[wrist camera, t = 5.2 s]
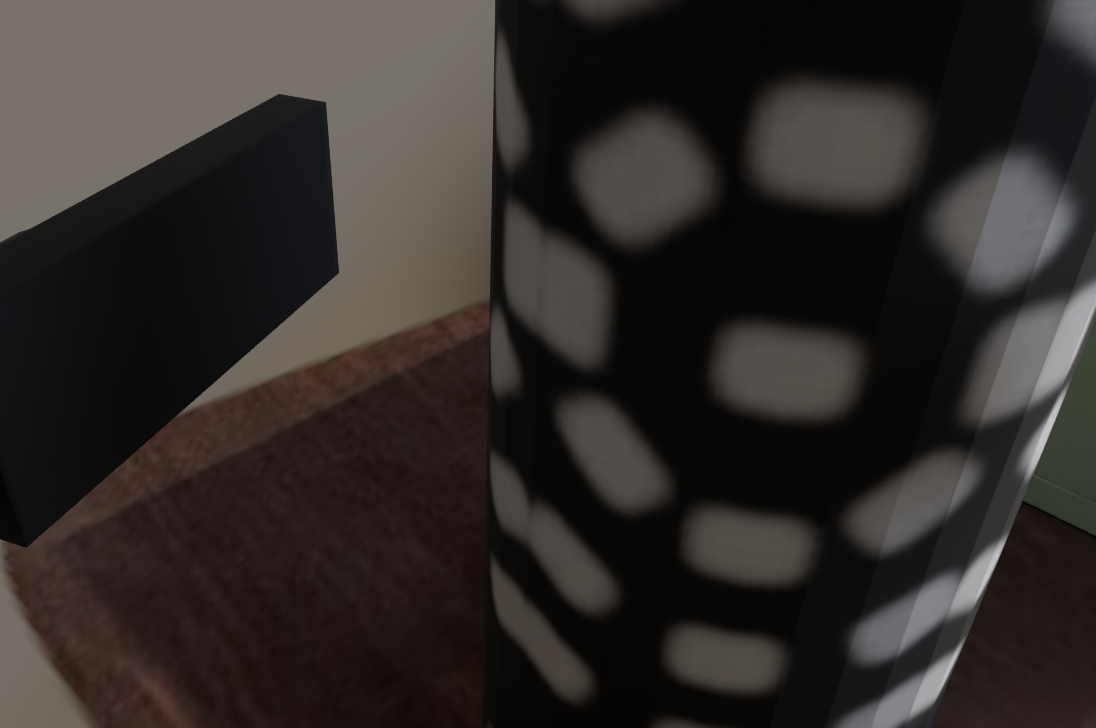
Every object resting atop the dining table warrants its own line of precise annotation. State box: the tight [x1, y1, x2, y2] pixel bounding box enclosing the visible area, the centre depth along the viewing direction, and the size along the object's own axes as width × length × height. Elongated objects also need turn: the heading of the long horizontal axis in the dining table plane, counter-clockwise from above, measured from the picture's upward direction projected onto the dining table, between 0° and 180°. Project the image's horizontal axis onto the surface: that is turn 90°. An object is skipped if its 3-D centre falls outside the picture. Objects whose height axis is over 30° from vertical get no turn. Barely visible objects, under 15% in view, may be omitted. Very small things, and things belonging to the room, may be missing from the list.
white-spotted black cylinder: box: [482, 0, 1096, 728], centre depth 15 cm, size 8×8×20 cm
